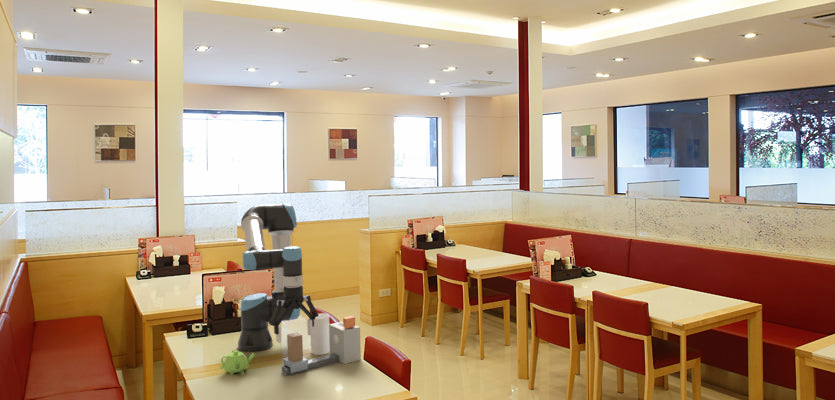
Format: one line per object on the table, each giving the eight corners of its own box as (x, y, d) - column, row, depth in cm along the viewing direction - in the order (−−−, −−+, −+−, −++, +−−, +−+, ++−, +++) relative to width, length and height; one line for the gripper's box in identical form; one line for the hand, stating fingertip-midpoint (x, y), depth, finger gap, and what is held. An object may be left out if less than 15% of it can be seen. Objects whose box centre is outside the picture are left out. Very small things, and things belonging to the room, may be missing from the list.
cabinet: (328, 356, 248) (328, 324, 247) (345, 352, 253) (345, 320, 252) (343, 364, 238) (342, 330, 237) (360, 359, 244) (360, 326, 243)
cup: (326, 355, 250) (325, 319, 248) (308, 354, 251) (307, 318, 250) (332, 349, 258) (331, 313, 256) (315, 348, 259) (314, 313, 258)
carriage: (283, 367, 232) (282, 334, 231) (299, 363, 237) (298, 330, 236) (292, 373, 226) (291, 338, 225) (308, 369, 231) (307, 335, 230)
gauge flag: (343, 327, 241) (343, 317, 241) (352, 325, 244) (352, 315, 244) (346, 328, 239) (346, 319, 239) (355, 326, 242) (355, 317, 242)
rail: (282, 372, 230) (281, 366, 230) (334, 358, 245) (334, 353, 245) (286, 375, 227) (286, 369, 227) (339, 361, 242) (339, 355, 242)
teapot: (215, 374, 229) (214, 353, 228) (234, 364, 240) (234, 344, 239) (238, 378, 225) (237, 357, 224) (257, 368, 235) (256, 348, 235)
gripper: (267, 292, 218) (269, 347, 220) (325, 282, 234) (327, 334, 235) (259, 289, 224) (261, 342, 225) (316, 280, 240) (318, 330, 241)
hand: (294, 338), depth 230 cm, fingers open, 13 cm apart
